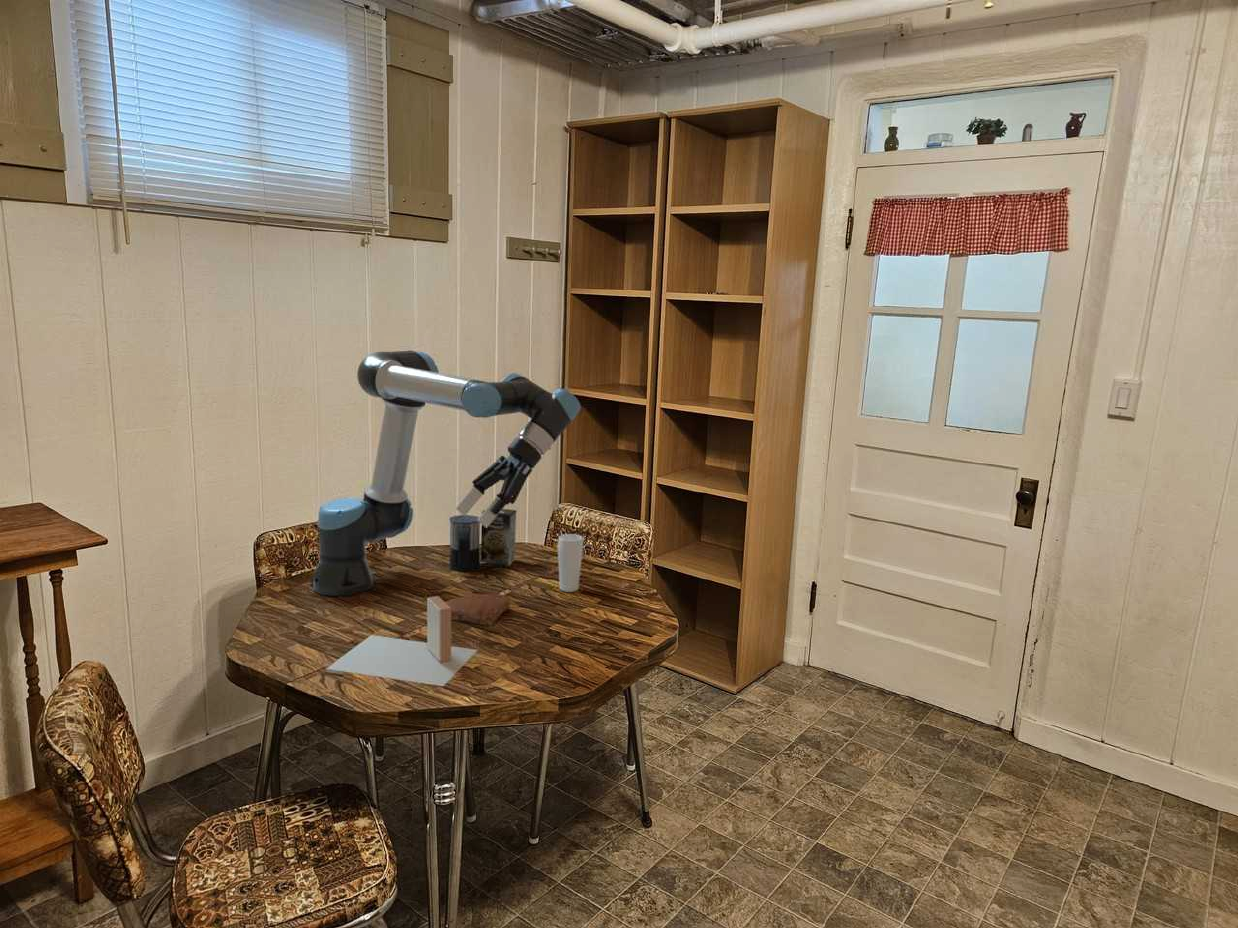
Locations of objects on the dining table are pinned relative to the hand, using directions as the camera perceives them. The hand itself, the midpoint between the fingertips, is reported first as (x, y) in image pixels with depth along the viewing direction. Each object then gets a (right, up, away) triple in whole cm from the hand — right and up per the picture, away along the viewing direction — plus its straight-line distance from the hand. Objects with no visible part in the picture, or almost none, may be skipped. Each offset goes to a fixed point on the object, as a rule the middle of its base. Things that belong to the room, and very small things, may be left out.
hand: (470, 518), depth 176 cm
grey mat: (-13, -30, -8) cm, 34 cm away
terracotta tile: (-6, -29, -5) cm, 31 cm away
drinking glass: (+19, -23, +41) cm, 51 cm away
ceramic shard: (-3, -26, +20) cm, 33 cm away
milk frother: (-8, -19, +56) cm, 60 cm away
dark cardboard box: (-3, -18, +62) cm, 65 cm away
